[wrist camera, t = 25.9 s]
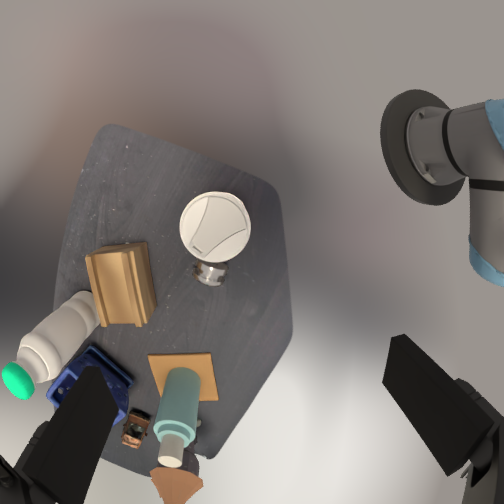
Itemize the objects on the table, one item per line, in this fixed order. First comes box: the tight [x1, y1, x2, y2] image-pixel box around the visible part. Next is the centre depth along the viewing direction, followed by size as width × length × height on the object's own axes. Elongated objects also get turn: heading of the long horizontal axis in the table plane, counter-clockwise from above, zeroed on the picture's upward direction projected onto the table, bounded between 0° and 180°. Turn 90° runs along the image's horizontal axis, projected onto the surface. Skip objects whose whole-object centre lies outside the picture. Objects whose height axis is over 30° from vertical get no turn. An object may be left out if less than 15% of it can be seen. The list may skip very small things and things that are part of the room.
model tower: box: [150, 419, 203, 504], centre depth 36 cm, size 10×11×30 cm
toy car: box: [121, 411, 151, 449], centre depth 47 cm, size 6×12×7 cm, turn 160°
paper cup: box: [180, 192, 251, 262], centre depth 34 cm, size 8×8×14 cm
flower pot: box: [46, 345, 134, 427], centre depth 40 cm, size 13×13×12 cm
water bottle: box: [2, 291, 100, 400], centre depth 31 cm, size 7×7×25 cm
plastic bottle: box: [154, 367, 201, 468], centre depth 37 cm, size 20×7×7 cm
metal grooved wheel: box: [192, 258, 229, 287], centre depth 41 cm, size 5×3×5 cm, turn 70°
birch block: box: [85, 242, 157, 327], centre depth 38 cm, size 8×11×8 cm
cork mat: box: [148, 353, 219, 401], centre depth 47 cm, size 12×12×1 cm
